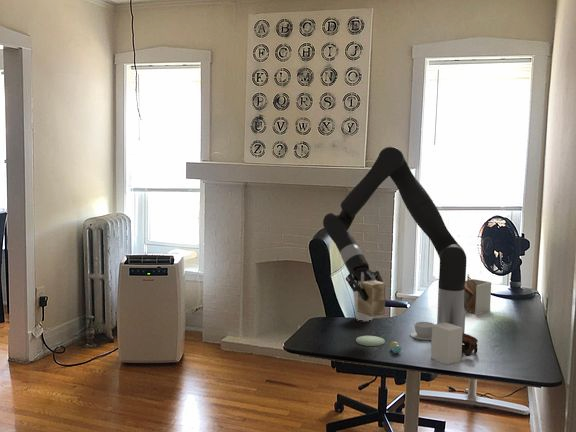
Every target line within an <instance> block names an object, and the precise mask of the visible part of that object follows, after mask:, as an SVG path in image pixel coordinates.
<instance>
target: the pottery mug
mask: <svg viewBox="0 0 576 432" xmlns="http://www.w3.org/2000/svg"><path fill="white" fill-rule="evenodd" d="M478 342H479V340H478V339H477V338H476V337H474V336H472V335H470V334H467V333H465V332H464V333H462V355H461V359H462V357H463V355H464V356H465V357H471V355H472V353H474V354H477V353H478V349H479V348H478Z"/></svg>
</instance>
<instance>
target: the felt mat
mask: <svg viewBox="0 0 576 432" xmlns="http://www.w3.org/2000/svg"><path fill="white" fill-rule="evenodd" d="M355 342H356V343H357V344H358V345H361V346H367V347H378V346H383V345H384V344H385V342H386V340H385V339H384V338H382V337H380V336H375V335H361V336H358V337H356V339H355Z"/></svg>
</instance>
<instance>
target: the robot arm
mask: <svg viewBox="0 0 576 432" xmlns="http://www.w3.org/2000/svg"><path fill="white" fill-rule="evenodd" d="M389 177H390V179H391V181H392V182H393V183H394V185H395V186H396V187H397V189H398V192H399V194H400V197H401V199H402V202H403V203H404V206H405V208H406V209H407V211H408V212H409V214H410V215H411V217H412V218H413V220H414V222H415V223H416V225H418V227H419V228H420V229H421V230H422V232H423V233H424V234H425V235H426V237H428V238H429V240H430V242H431V244H432V246H433V247H434V250H435V251H436V253H437V255H438V257H439V271H438V272H439V273H438V274H439V275H438V290H437V291H438V292H437V298H438V299H437V316H436V317H437V319H436V324H440V323H445V322H446V323H450V324H453V325H456V326H459V327H462V328H463V332H462V333H465V326H466V309H464V289H465V281H466V277H467V276H466V275H467V254H466V252H465V250H464V249H463V247H462V246H461V245H460V244H459V243H458V242H457V240H456V239H455V238H454V236H453V235H452V234H451V233H450V231H449V230H448V229H447V226H446V224H445V222H444V219H443V217H442V214H441V213H440V211H439V209H438V208H437V205H436V204H435V202H434V201H433V199H432V198H431V196H430V195H429V194H428V192H427V190H426V189H425V188H424V186H423V185H422V184H421V182H419V181H418V179H417V178H416V177H415V175H414V174H413V172H412V170H411V169H410V167H409V165H408V162H407V161H406V158H405V156H404V153H403V151H402V150H401V149H399V148H398V147H395V146H387V147H384V148H383V149H381V150H380V152H379V154H378V156H377V158H376V160H375V162H374V163H373V165H372V167H371V168H370V170H369V171H368V172H367V174H365V176H363V177H362V179H361V180H360V181H359V183H357V184H356V185H355V187H353V188H352V190H350V192H349V193H348V194H347V196H346V197H345V198H344V199H343V200H342V201H341V202H340V208H341V211H340V213H339V214H338V213H335V212H329V213H327V214H326V215H325V216H324V217H323V219H322V220H323V221H322V224H323V228H324V230H325V232H326V233H327V235H328V236H329V238H330V239H331V240H332V242H333V243H334V244H335V246H336V248H337V250H338V252H339V254H340V256H341V259H342V262H343V263H344V265H345V267H346V269H347V272H348V274H347V276H346V277H345V280H346V282H347V283H348V285H349V288H350V289H351V290H352V292H353V291H354V292H355V291H358V292H359V293H360V295H361V297H362V299H363V300H364V301H367V300H368V299H369V297H368V295H367V293H366V291H365V289H363V288H364V287H363V285H362V282H364V281H370V280H373V281H375V280H376V281H380V282H383V283H384V281H383V278H382V276H381V274H380V271H379V270H375V271H372V270H370V266H369V262H368V260H367V259H366V257H365V255H364V253H363V252H362V250H361V248H360V246H359V245H358V244H357V242H356V240H355V238H354V236H353V235H352V233H350V232H348V230H349V229H350V227H351V225H352V223H353V222H354V219H355V217H356V215H357V214H358V213H359V212H360V211H361V210H362V208H363V207H364V206H365V205H366V204H367V203H368V201H370V199H371V197H372V196H373V194H374V193H375V192H376V190H377V189H378V188H379V186H380V185H382V183H383V182H385V180H386V179H388V178H389ZM358 281H360V282H359V283H358ZM354 286H355V287H354Z"/></svg>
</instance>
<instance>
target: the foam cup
mask: <svg viewBox="0 0 576 432" xmlns="http://www.w3.org/2000/svg"><path fill="white" fill-rule="evenodd" d="M354 287H355V286H354ZM352 294H353V300H354V309H355V310H354V311H355V318H356V320H357V319H358V320H357V321H359V320H363V321H362V322H370V321H369V320H371V321H373V317H374V316H368V315H365V314H362V313H360V312H357V309H358V291H355V292H354V291H353V290H352Z"/></svg>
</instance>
